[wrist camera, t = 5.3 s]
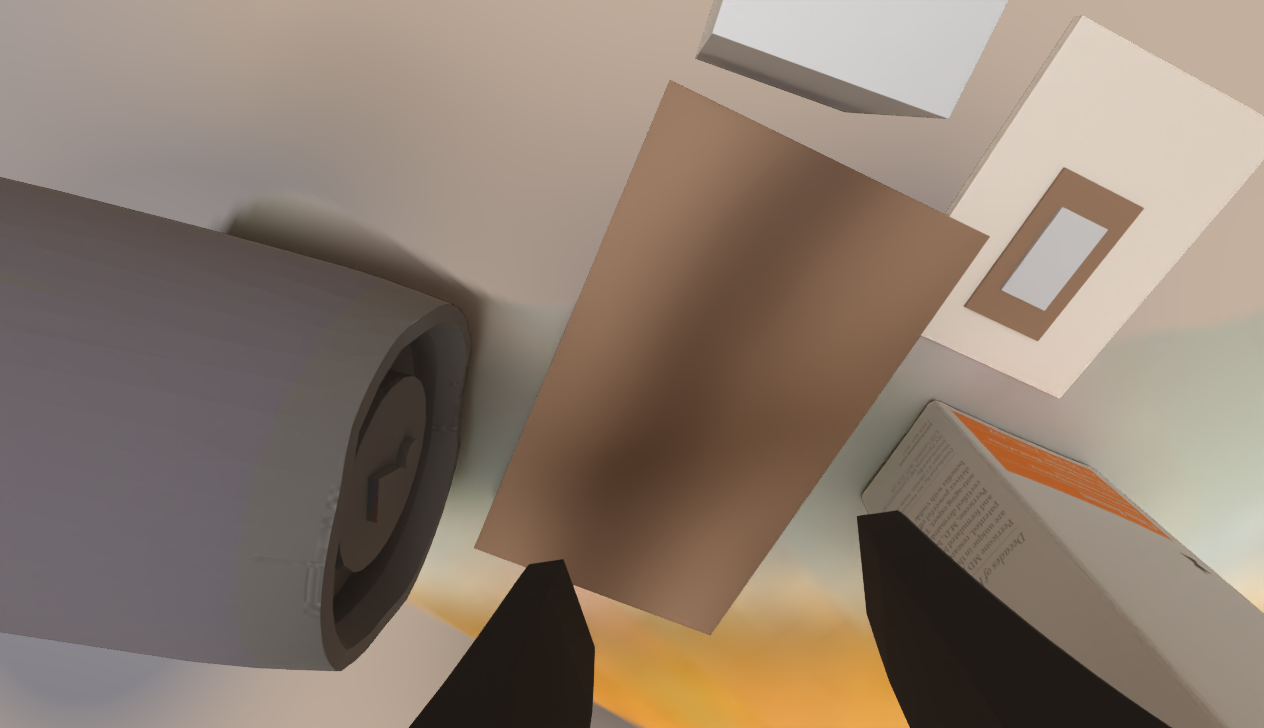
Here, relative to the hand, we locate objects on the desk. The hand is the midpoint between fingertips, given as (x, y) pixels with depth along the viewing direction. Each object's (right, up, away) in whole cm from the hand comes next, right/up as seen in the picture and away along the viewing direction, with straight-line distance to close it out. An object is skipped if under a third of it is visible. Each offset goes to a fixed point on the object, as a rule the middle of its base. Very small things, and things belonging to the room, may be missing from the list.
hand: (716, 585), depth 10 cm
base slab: (0, +3, +8) cm, 9 cm away
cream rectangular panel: (+10, +7, +6) cm, 14 cm away
